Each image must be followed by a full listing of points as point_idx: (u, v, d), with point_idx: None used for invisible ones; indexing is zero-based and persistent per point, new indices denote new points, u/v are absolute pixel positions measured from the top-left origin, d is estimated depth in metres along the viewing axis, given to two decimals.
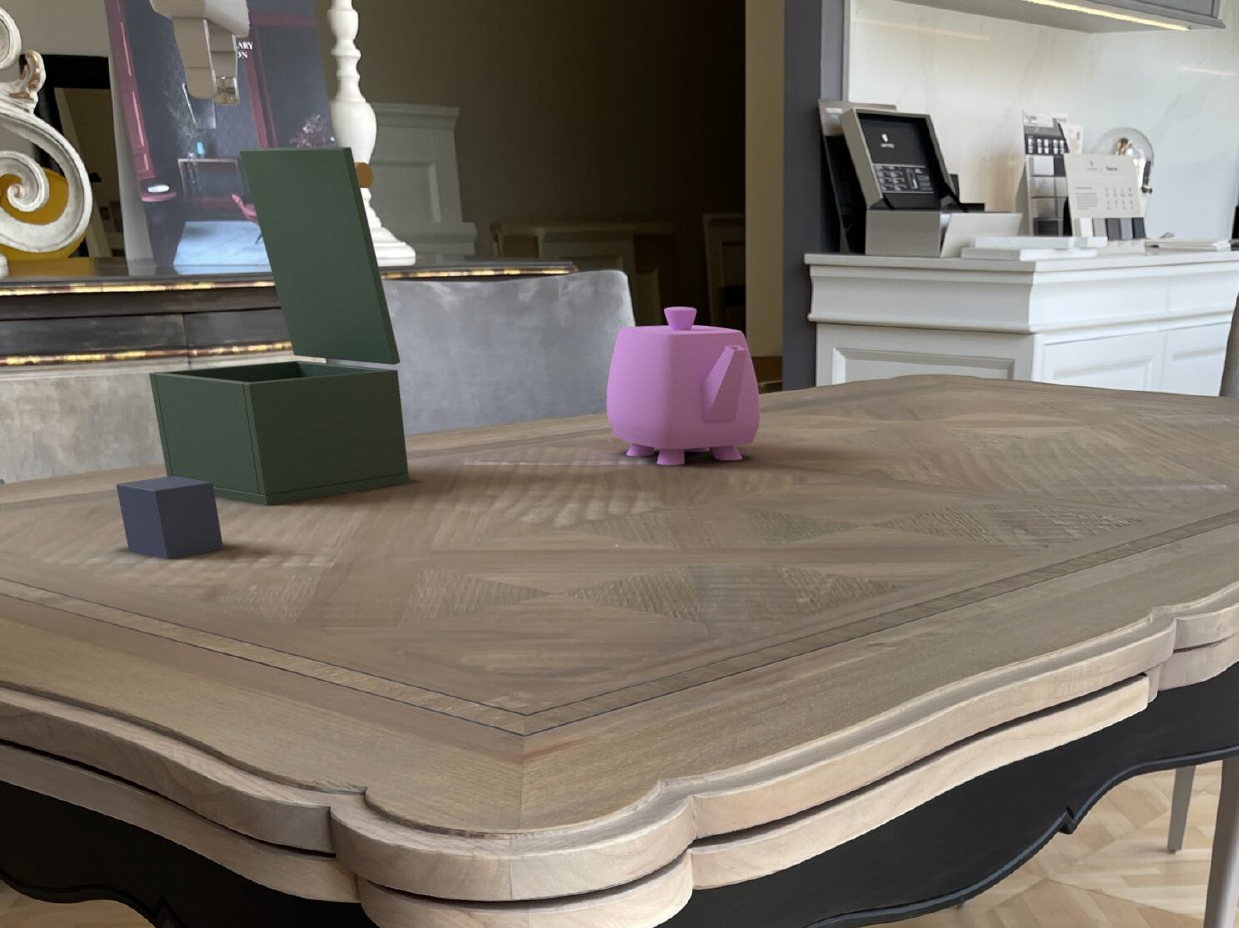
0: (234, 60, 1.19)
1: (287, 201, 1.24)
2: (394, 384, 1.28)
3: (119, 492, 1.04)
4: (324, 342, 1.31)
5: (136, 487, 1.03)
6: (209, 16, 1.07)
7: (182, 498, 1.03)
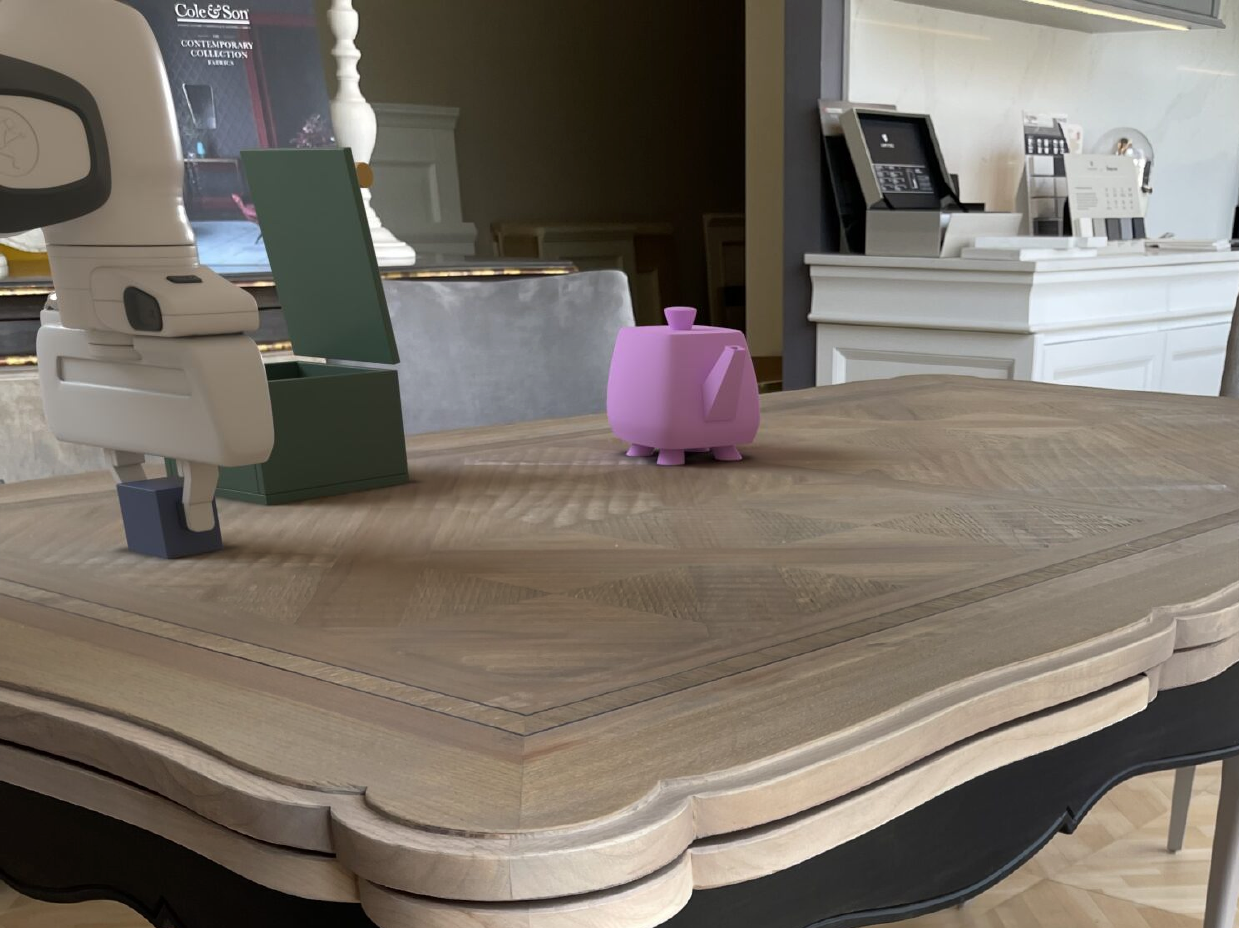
0: (142, 471, 1.06)
1: (287, 201, 1.24)
2: (394, 384, 1.28)
3: (119, 492, 1.04)
4: (324, 342, 1.31)
5: (136, 487, 1.03)
6: None
7: None
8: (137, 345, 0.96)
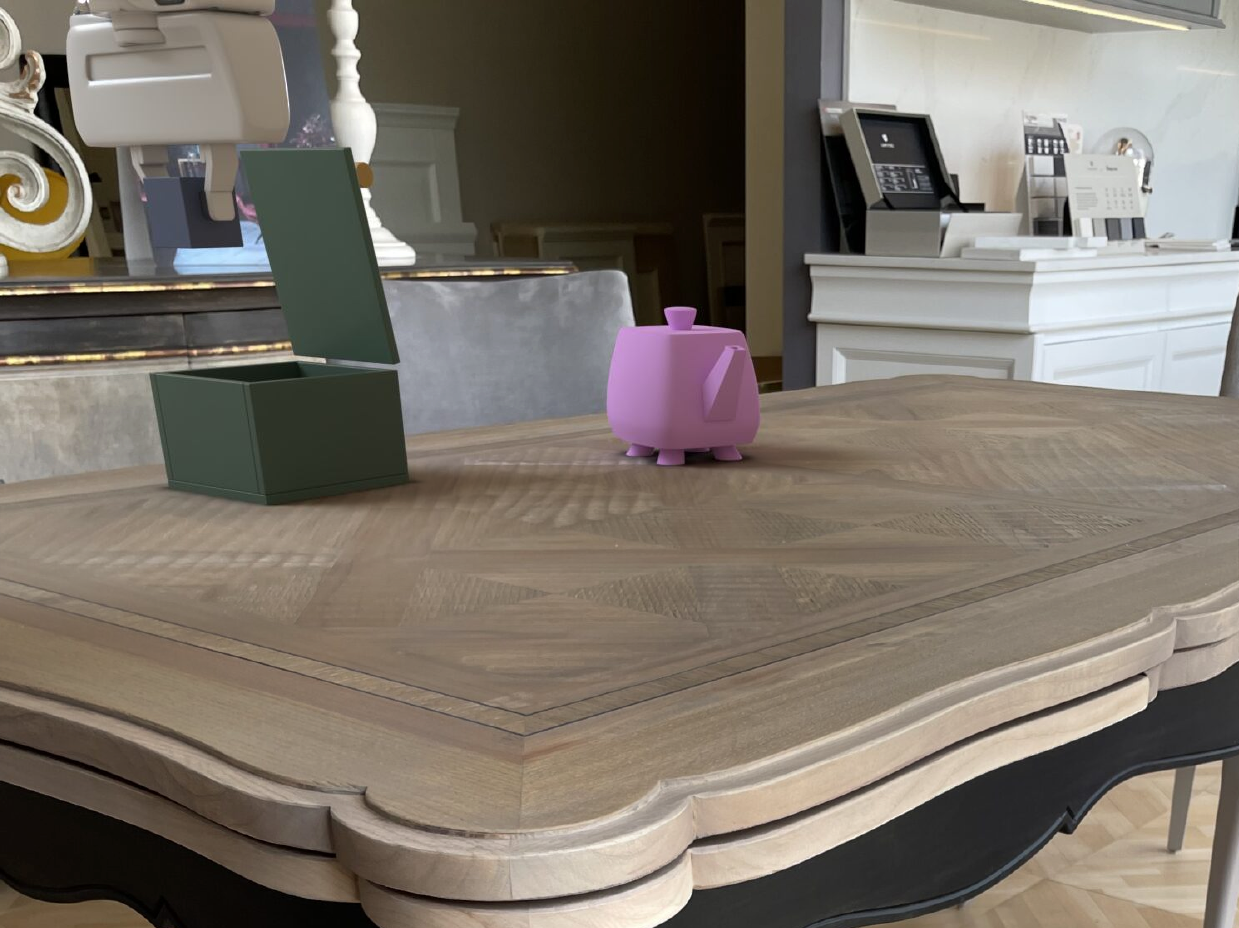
0: (167, 173, 1.13)
1: (287, 201, 1.24)
2: (394, 384, 1.28)
3: (145, 186, 1.10)
4: (324, 342, 1.31)
5: (161, 177, 1.09)
6: None
7: None
8: (161, 23, 1.02)
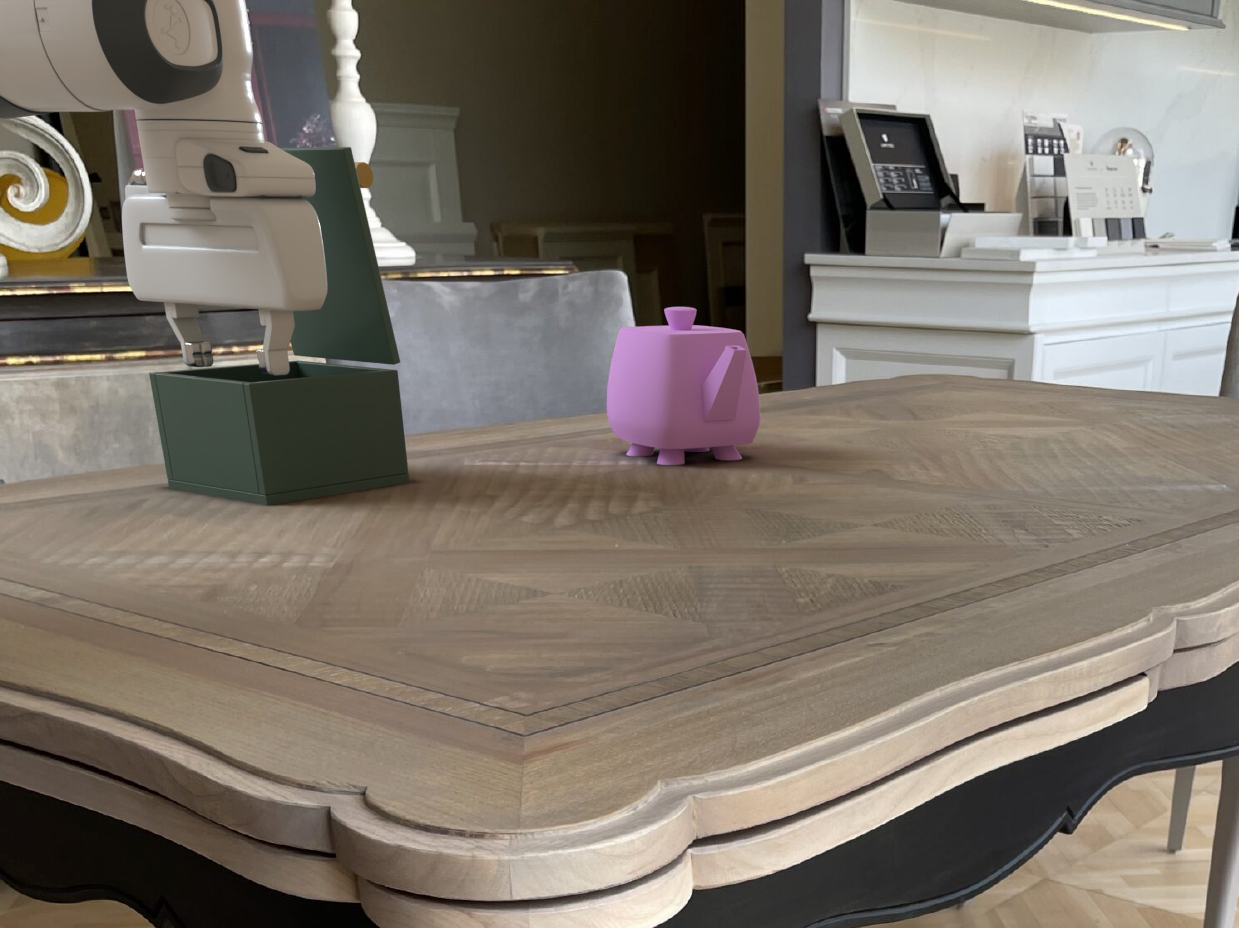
0: (197, 325, 1.25)
1: None
2: (394, 384, 1.28)
3: None
4: (324, 342, 1.31)
5: None
6: None
7: None
8: (213, 206, 1.14)
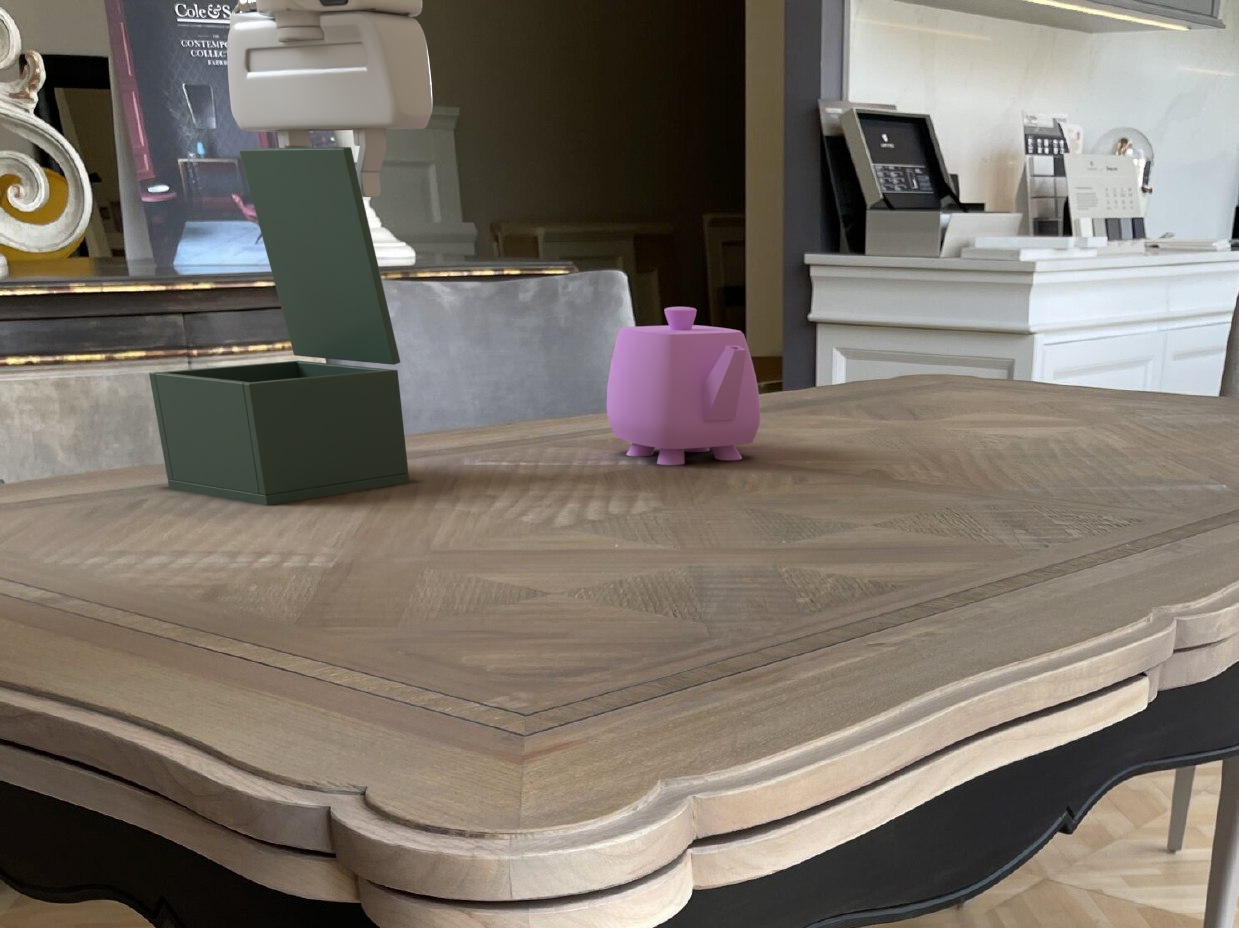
0: None
1: (287, 201, 1.24)
2: (394, 384, 1.28)
3: None
4: (324, 342, 1.31)
5: None
6: None
7: None
8: (323, 22, 1.16)
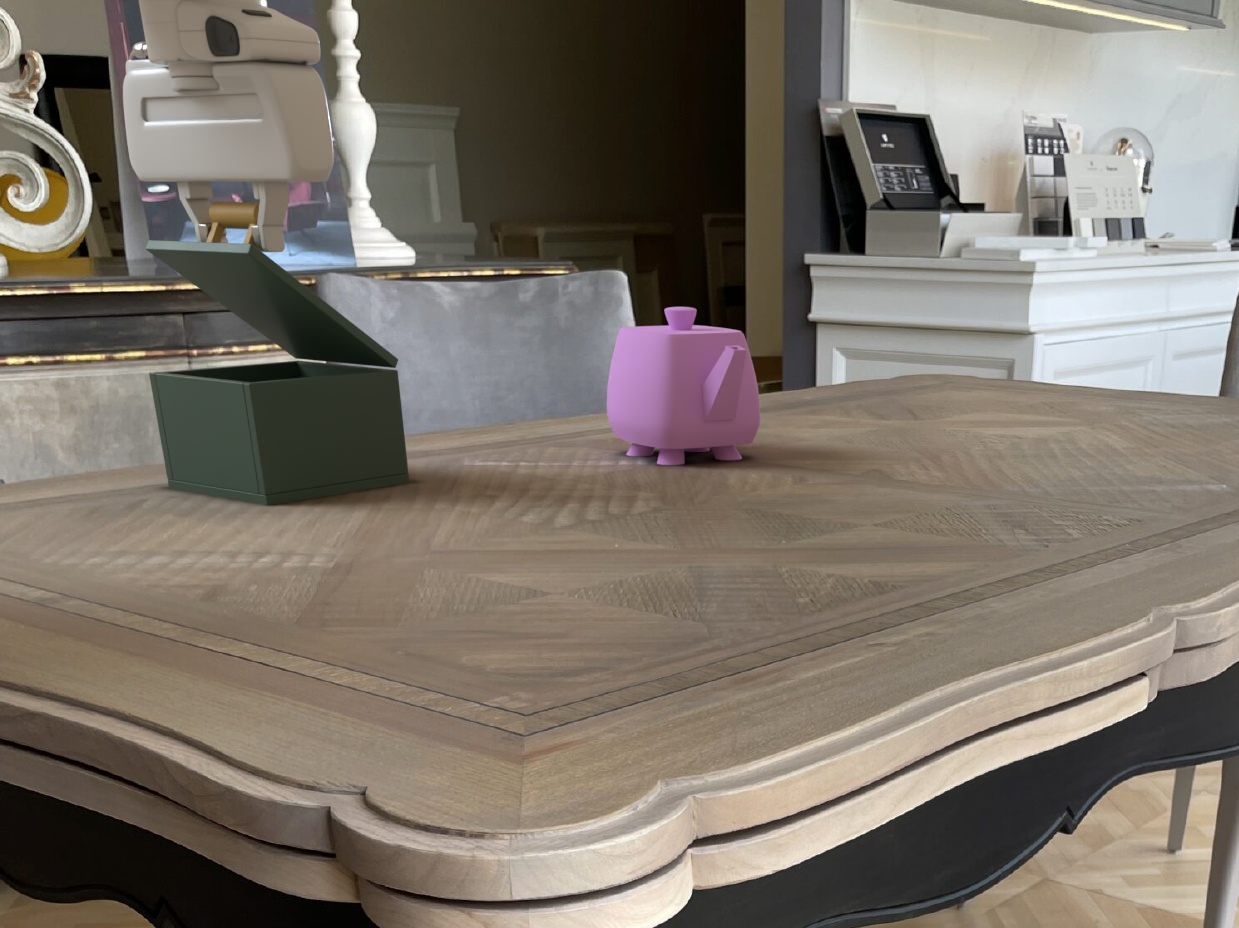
0: None
1: (218, 279, 1.22)
2: (394, 384, 1.28)
3: None
4: (319, 353, 1.31)
5: None
6: None
7: None
8: (216, 72, 1.11)
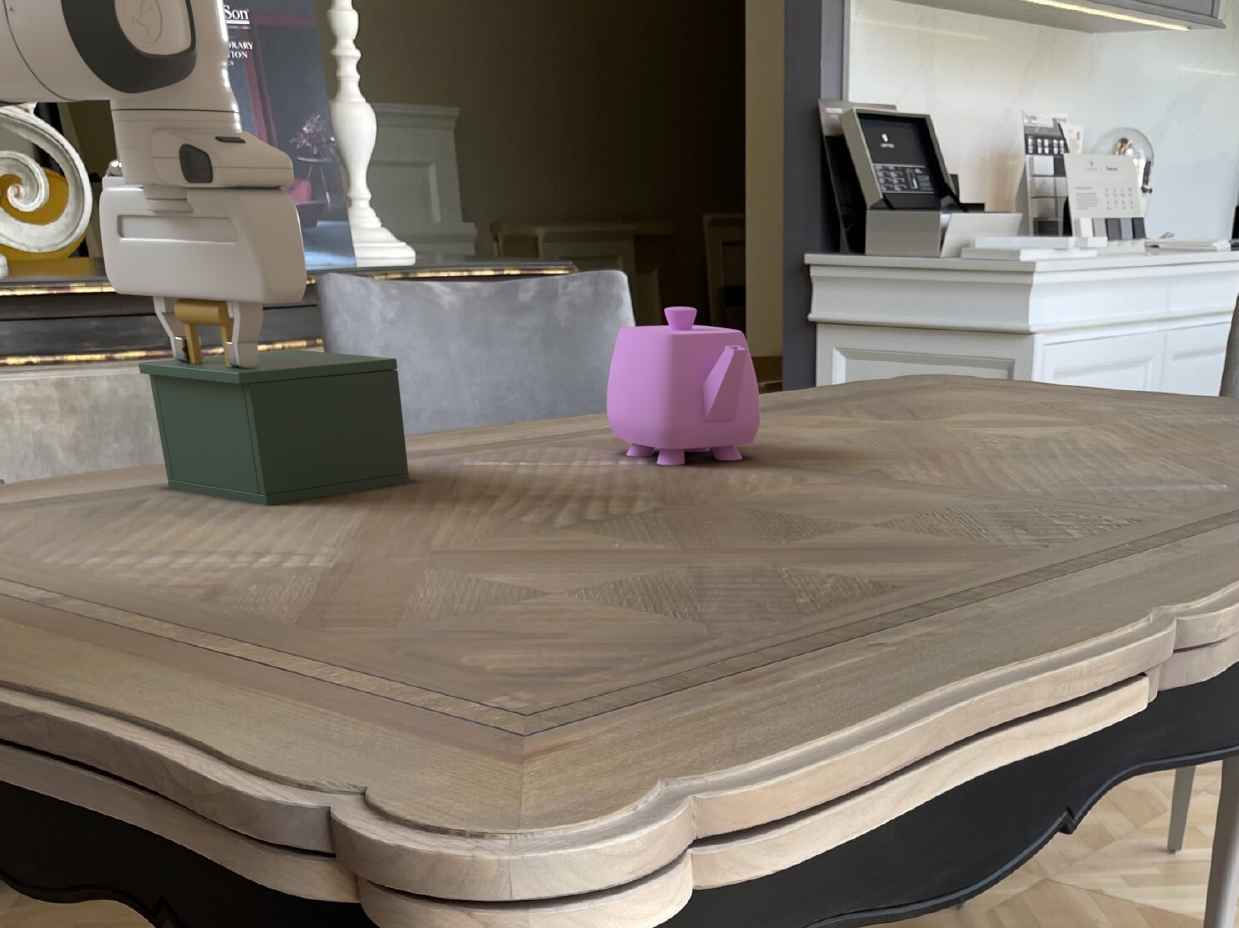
0: None
1: None
2: (394, 384, 1.28)
3: None
4: None
5: None
6: None
7: None
8: (190, 197, 1.12)
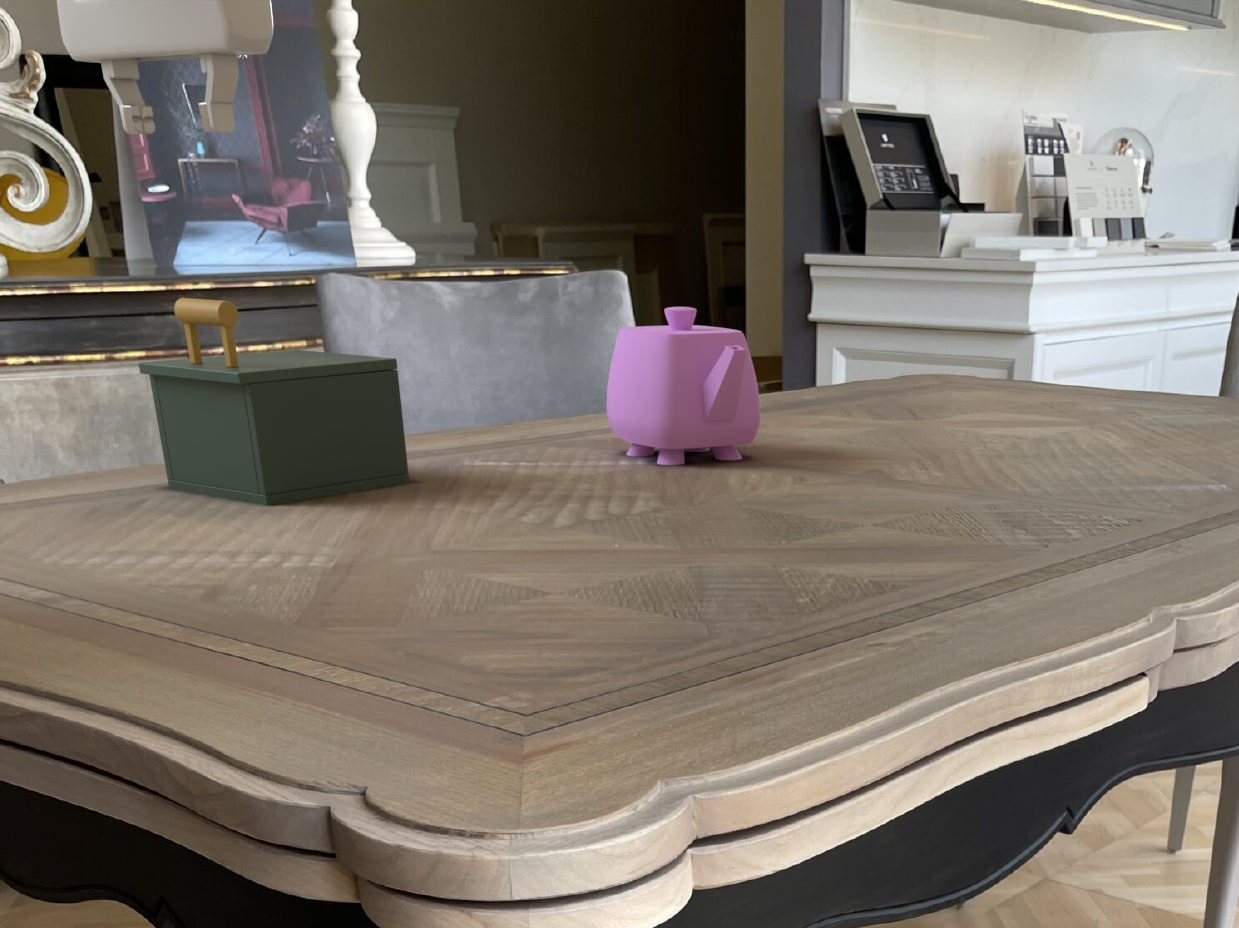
0: (137, 88, 1.16)
1: None
2: (394, 384, 1.28)
3: None
4: None
5: None
6: None
7: None
8: None
